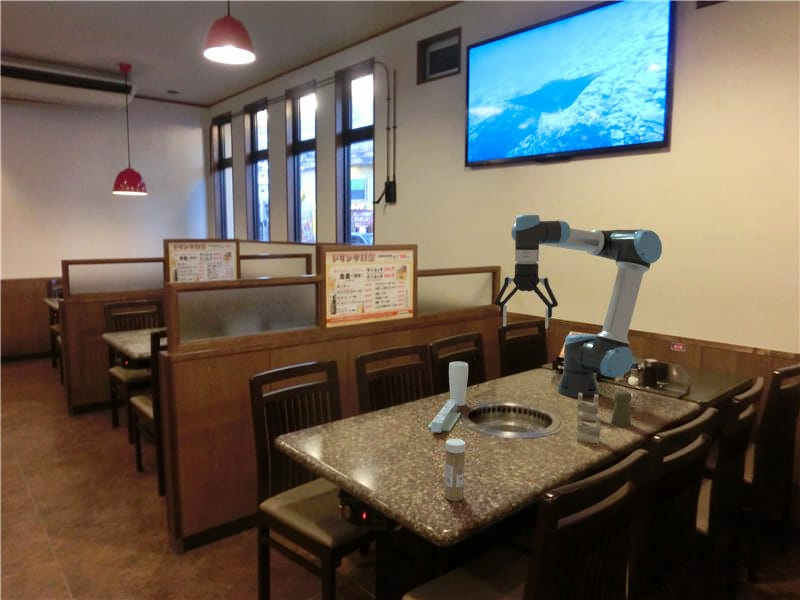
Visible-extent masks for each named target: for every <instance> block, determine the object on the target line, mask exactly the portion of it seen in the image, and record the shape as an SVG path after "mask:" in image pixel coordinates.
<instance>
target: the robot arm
mask: <svg viewBox="0 0 800 600" xmlns="http://www.w3.org/2000/svg"><path fill="white" fill-rule="evenodd" d="M510 233H511V237H512V239H513V241H515V243H514V246H515V247H514V248H515V249H514V262H515V264H514V277H509V276H506V277H505V278H504V283H503V285H502V287H501V289H500V291H499V293H498V295H497V297H496V299H495V301H494V305H496V306H498V307H499V316H500V317H502V327H506V326H507V319H508V318H507V316H508V315H507V313H508V311H507V308H508V307H507V305H506V303H508V302H509V300H511V298H512V297H513V296H514V295H515V294H516V293H517V291H520V292H532V291H533V292H534V293H535V294H536V295H537V296H538V297H539V298H540V300H541V301H542V302H543V303H544V304H545V306H546V308H545V317H544V319H545V320H544V321H545V322H544V323H545V325H544V326H545V329H548V328H549V319H551V318H552V316H553V308H557V307H558V305H559V303H558V300H557V298H556V296H555V294H554V292H553V290H552V289H551V286H550V284H549V283H550V282H549V278H548V277H544V278H543V277H542V278H540V277H539V263H538V262H539V261H540V259H539V255H540V253H539V252H540V246H546V247H547V246H548V247H552V248H554V247H555V248H560V249H567V250H573V251H580V252H581V251H582V252H586V253H587V254H588V255H591V256H597V257H600V258H604V259H608V260H611V261H612V260H613V261H615V265H616V266H617V268H618V269H617V272H616V273H617V274H616V277H615V279H614V284H613V287H612V288H613V289H612V291H611V292H612V293H611V296H610V300H609V303H608V307H607V311H606V313H605V314H606V315H605V318H604V323H603V325H602V326H603V327H602V330H601V331H600V332H599V333H597V334H588V333H587V334H586V333H580V334H578V333H577V334H575V333H574V334H569V335H566V337H565V343H564V350H563V351H564V353H563V355H564V356H563V373H562V375H561V378H560V380H559V382H558V385H557V392H558V393H560V394H561V395H563V396H566V397H571V398H576V399H578V396H579V393H582V399H594V394H595V395H598V396H599V394H600V388H599V384H598V381H597V377H596V373H597V374H599V375H602V376H604V377H609V378H613V379H616V378H617V379H618V378H621V377H623V376H624V375H625V374H627V373H629V371H630V369H631V367H632V365H633V363H634V355H633V352H632V350H631V349H630V341H629V340H628V335H629V334H628V333H629V330H630V325H631V323H632V319H633V315H634V312H635V311H634V310H635V306H636V303H637V299H638V296H639V292H640V288H641V285H642V280H643V276H644V274H645V273H646V272H648V271H650V269H651V264H654V263H656V262H657V261H658V260H659V259H660V258H661V255H662V252H663V251H662V250H663V246H662V240H661V239H660V236H659V235H658V234H657V233H656V231H653V230H649V229H642V228H641V229H610V230H600V229H593V230H591V231H588V230H583V229H577V228H571V227H570V224H569V223H568V222H567V221H565V220H541V219H540V216H539V215H538V214H521V215H520V214H519V215H517V216H516V218H515V223H514V225H513V226H512V228H511V232H510ZM512 282H513V284H514V285H515V287H514V288H513V289H512V290H511V291H510V293H508V295H507V296H505V298H504V299H503V300H502V298H503V296H504V294H505V292H506V290H507V289H508V286H509V285H511V284H512ZM539 283H541V285H543V286H544V288H545V290H546V292H547V294H548V296H549V298H550V300H551V302H550V300H549V299H548V298H547V297H546V296H545V294H544V293H543V292H542V291H541V289H540V288H539V287H538V285H539ZM501 300H502V301H501Z"/></svg>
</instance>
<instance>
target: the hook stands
mask: <svg viewBox="0 0 800 600" xmlns="http://www.w3.org/2000/svg"><path fill="white" fill-rule="evenodd" d="M577 399H578V401H577V416H576V417H577V433H576V442H580V443H581V442H582V443H588V442H589V444H595V443H597V444H596V445H599V444H600V437H601V435H600V434H601V419H602V418H601V417H602V416H601V414H600V413H599V412H598V411H599V410H598V409H599V395H595V394H594V398H593V402H588V401H583V398H582V393H579V396H578V398H577ZM598 413H599V414H598ZM587 419H588V421H595V420H596V421H595V423H593V422H584V421H583V420H587Z"/></svg>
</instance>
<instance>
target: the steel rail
mask: <svg viewBox="0 0 800 600" xmlns="http://www.w3.org/2000/svg"><path fill="white" fill-rule="evenodd" d="M458 407H459V406H458V400H451V399H448V400H447V401H446V403H445V404H444V405H443V407H442V408H441V409H440V410H439V412H438V413H437V414H436V416H435V417H434V418H433V420H432V421H431V422H430V423H431V429H430V431H431V433H438V434H439V433H440V434H441V433H442V432H443V431H442V430H443V429H444V427H445V426H446V424H447V423H448V422H449V420H450V419H451V417H452V416H453V414H454V413H455V412H457V410H458Z"/></svg>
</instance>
